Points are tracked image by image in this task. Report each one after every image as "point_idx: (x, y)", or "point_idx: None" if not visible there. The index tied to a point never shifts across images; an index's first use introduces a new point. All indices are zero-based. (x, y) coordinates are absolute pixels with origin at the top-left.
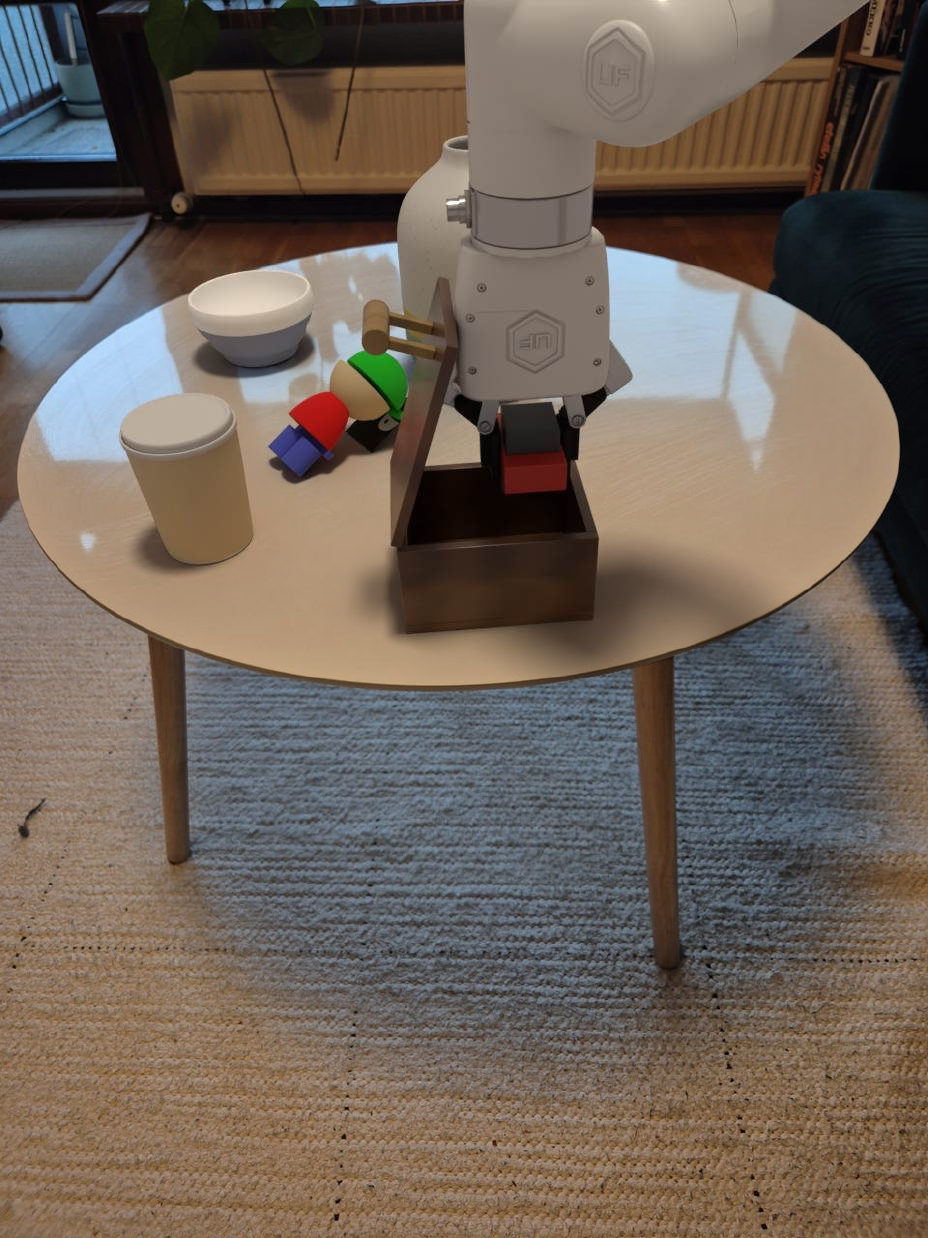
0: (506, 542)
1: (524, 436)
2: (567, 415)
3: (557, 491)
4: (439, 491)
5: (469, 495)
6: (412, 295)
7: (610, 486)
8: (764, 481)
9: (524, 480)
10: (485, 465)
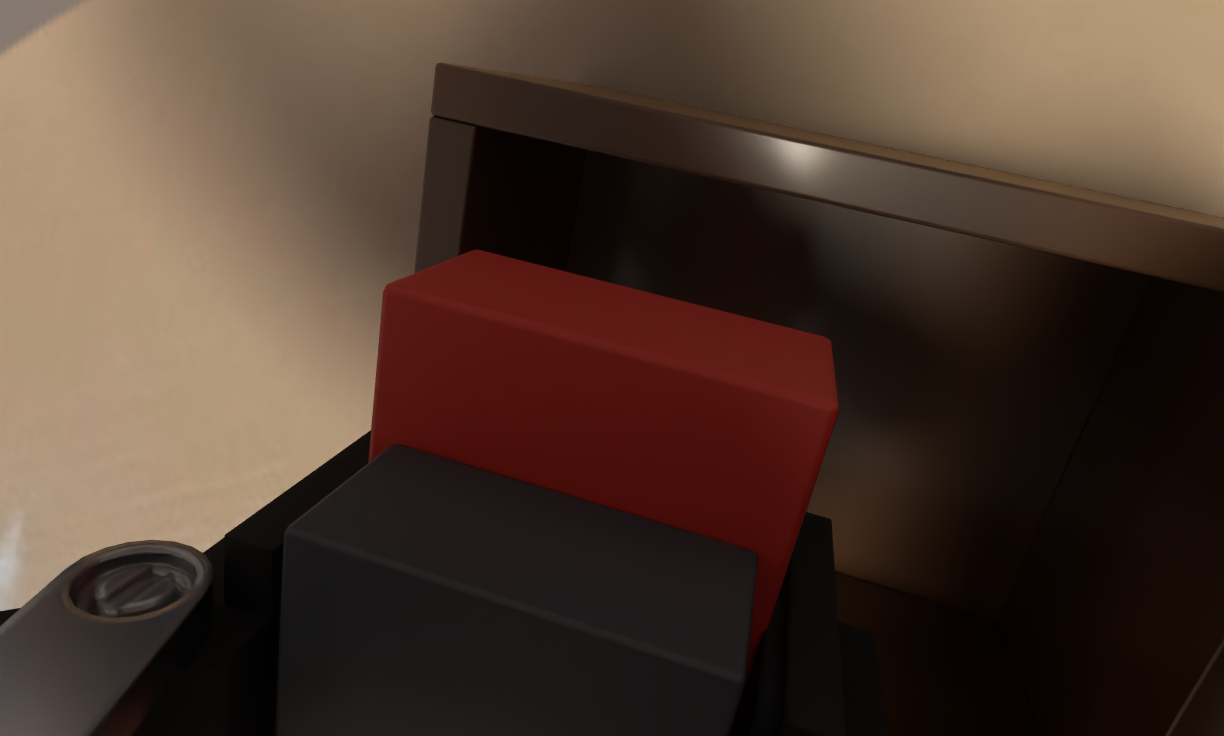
0: (866, 170)
1: (590, 599)
2: (171, 648)
3: None
4: (920, 726)
5: None
6: None
7: None
8: (8, 475)
9: (699, 332)
10: (847, 624)
